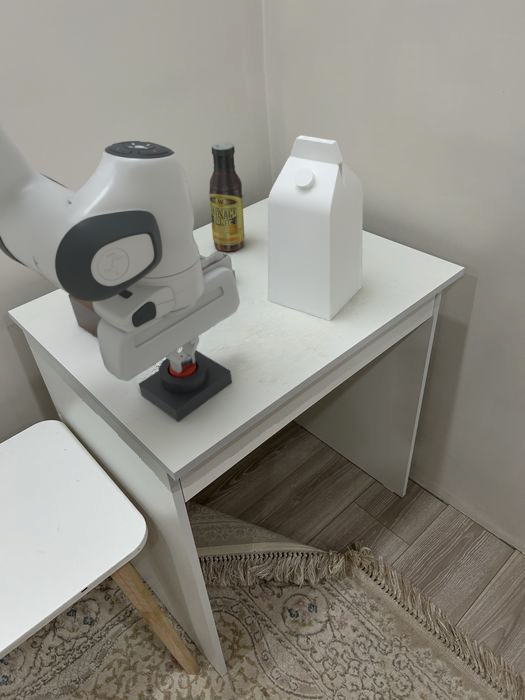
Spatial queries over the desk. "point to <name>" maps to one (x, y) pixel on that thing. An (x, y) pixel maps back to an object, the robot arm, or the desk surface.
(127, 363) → the robot arm
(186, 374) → the bell button
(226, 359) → the desk surface
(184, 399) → the grey button base
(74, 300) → the stand
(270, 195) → the milk
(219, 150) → the sauce bottle
